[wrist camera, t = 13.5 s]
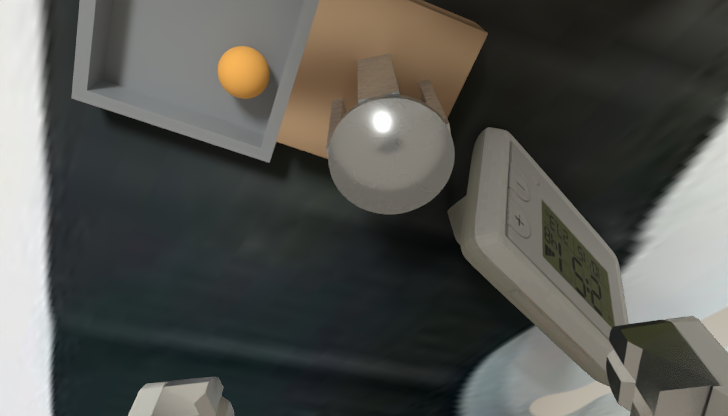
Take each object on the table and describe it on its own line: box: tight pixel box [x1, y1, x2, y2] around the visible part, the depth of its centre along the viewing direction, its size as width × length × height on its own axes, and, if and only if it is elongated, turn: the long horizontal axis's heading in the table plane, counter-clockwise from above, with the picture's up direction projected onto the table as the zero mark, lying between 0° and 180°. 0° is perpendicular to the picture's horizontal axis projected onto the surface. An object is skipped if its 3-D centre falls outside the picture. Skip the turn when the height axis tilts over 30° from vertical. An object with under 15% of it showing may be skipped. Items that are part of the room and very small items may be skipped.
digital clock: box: [447, 127, 629, 386], centre depth 32 cm, size 16×9×11 cm, turn 33°
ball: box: [218, 46, 270, 99], centre depth 29 cm, size 3×3×3 cm
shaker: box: [326, 53, 455, 214], centre depth 25 cm, size 6×6×8 cm
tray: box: [72, 0, 319, 163], centre depth 28 cm, size 14×12×2 cm
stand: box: [276, 0, 488, 159], centre depth 29 cm, size 10×9×4 cm
